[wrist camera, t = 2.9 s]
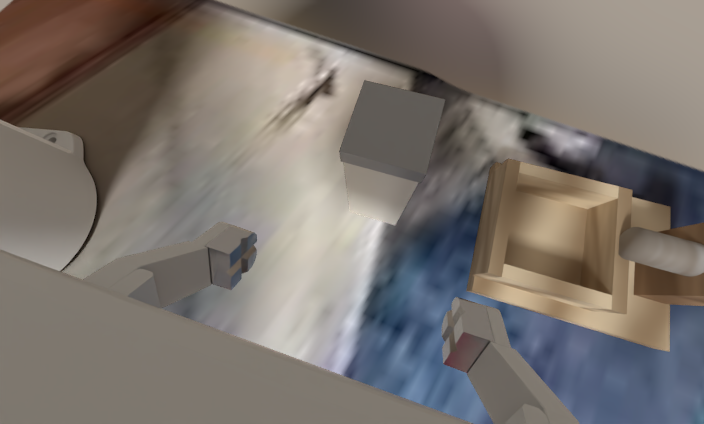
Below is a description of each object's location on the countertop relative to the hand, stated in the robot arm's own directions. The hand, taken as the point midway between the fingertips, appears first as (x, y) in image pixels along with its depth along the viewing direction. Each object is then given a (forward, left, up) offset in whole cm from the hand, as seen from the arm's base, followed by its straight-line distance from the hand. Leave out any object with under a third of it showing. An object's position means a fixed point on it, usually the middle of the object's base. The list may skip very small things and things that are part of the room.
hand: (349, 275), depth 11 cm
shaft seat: (+17, +8, -14) cm, 23 cm away
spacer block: (0, +8, -14) cm, 16 cm away
